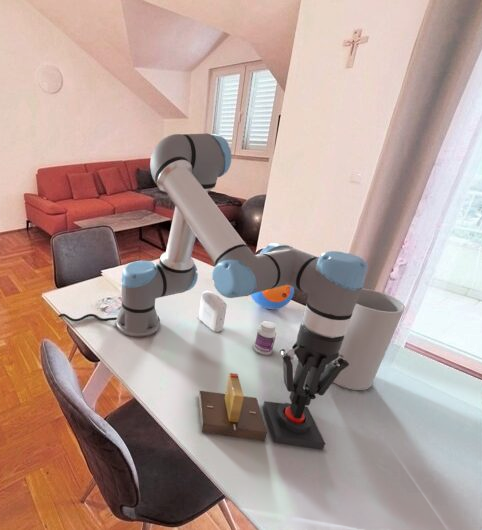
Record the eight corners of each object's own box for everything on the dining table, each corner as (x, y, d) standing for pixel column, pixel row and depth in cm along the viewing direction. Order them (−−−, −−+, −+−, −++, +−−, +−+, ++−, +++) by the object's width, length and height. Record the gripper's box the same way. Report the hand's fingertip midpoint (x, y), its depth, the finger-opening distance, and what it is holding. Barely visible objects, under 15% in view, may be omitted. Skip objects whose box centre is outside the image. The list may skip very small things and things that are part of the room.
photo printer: (224, 330, 110) (229, 299, 105) (214, 333, 108) (219, 302, 103) (205, 315, 119) (209, 286, 114) (196, 318, 117) (200, 289, 112)
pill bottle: (273, 356, 97) (280, 330, 93) (255, 354, 98) (261, 328, 94) (269, 345, 102) (275, 320, 98) (252, 343, 103) (257, 318, 99)
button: (286, 424, 72) (288, 419, 71) (281, 410, 75) (282, 405, 74) (305, 427, 71) (307, 422, 70) (299, 413, 75) (301, 407, 74)
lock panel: (201, 434, 72) (203, 425, 71) (197, 397, 83) (199, 388, 81) (265, 444, 70) (268, 434, 69) (253, 404, 80) (256, 395, 79)
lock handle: (238, 422, 72) (244, 395, 69) (229, 421, 72) (234, 394, 69) (232, 398, 78) (238, 373, 75) (224, 397, 78) (229, 372, 75)
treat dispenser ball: (283, 298, 130) (291, 265, 124) (294, 318, 116) (304, 282, 110) (243, 294, 133) (250, 261, 127) (250, 313, 120) (257, 277, 114)
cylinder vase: (361, 365, 93) (391, 292, 83) (378, 396, 83) (415, 316, 73) (313, 356, 97) (336, 285, 87) (324, 385, 86) (352, 307, 76)
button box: (274, 443, 70) (278, 430, 69) (262, 407, 79) (265, 395, 78) (322, 450, 69) (327, 437, 67) (305, 412, 78) (309, 401, 76)
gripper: (348, 320, 65) (319, 404, 75) (281, 314, 67) (261, 396, 77) (369, 342, 58) (333, 431, 68) (294, 335, 60) (270, 422, 70)
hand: (295, 413), depth 72 cm, fingers closed
